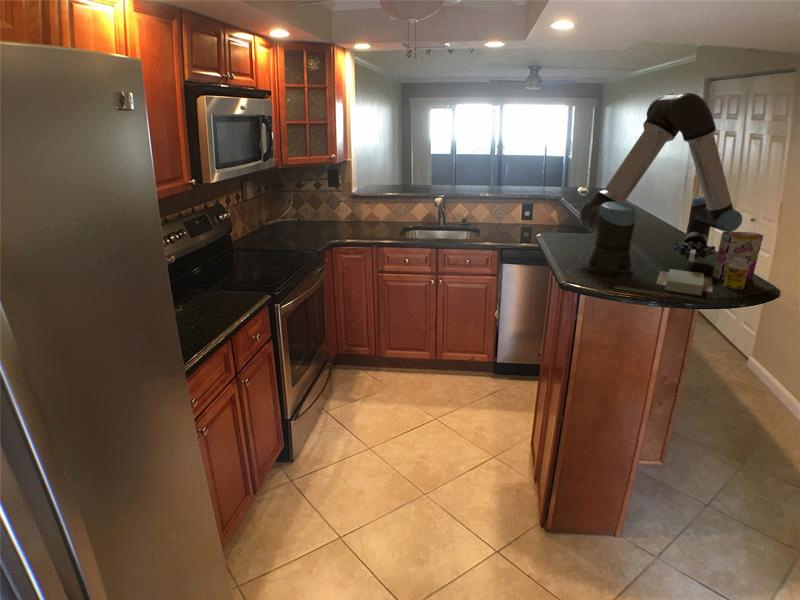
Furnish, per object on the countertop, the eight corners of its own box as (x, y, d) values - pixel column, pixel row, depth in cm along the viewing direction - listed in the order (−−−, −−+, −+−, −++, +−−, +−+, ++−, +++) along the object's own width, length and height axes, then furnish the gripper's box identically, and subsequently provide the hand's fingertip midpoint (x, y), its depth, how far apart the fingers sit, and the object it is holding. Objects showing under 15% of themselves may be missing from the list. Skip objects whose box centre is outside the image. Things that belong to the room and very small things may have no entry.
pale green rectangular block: (668, 277, 181) (664, 290, 167) (669, 269, 180) (666, 280, 166) (701, 282, 176) (701, 295, 163) (703, 273, 175) (703, 285, 162)
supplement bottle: (721, 290, 172) (728, 258, 169) (725, 286, 176) (731, 255, 173) (741, 293, 168) (748, 262, 165) (744, 289, 172) (752, 258, 169)
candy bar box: (720, 282, 180) (730, 234, 174) (711, 278, 184) (721, 231, 179) (752, 283, 180) (764, 234, 175) (743, 278, 185) (754, 231, 179)
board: (655, 286, 174) (655, 283, 173) (659, 273, 189) (660, 270, 188) (711, 295, 166) (712, 292, 166) (711, 280, 182) (712, 277, 181)
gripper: (713, 256, 193) (712, 271, 174) (673, 251, 199) (667, 265, 180) (717, 235, 191) (717, 248, 171) (677, 231, 197) (671, 243, 177)
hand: (691, 257), depth 176 cm, fingers closed
